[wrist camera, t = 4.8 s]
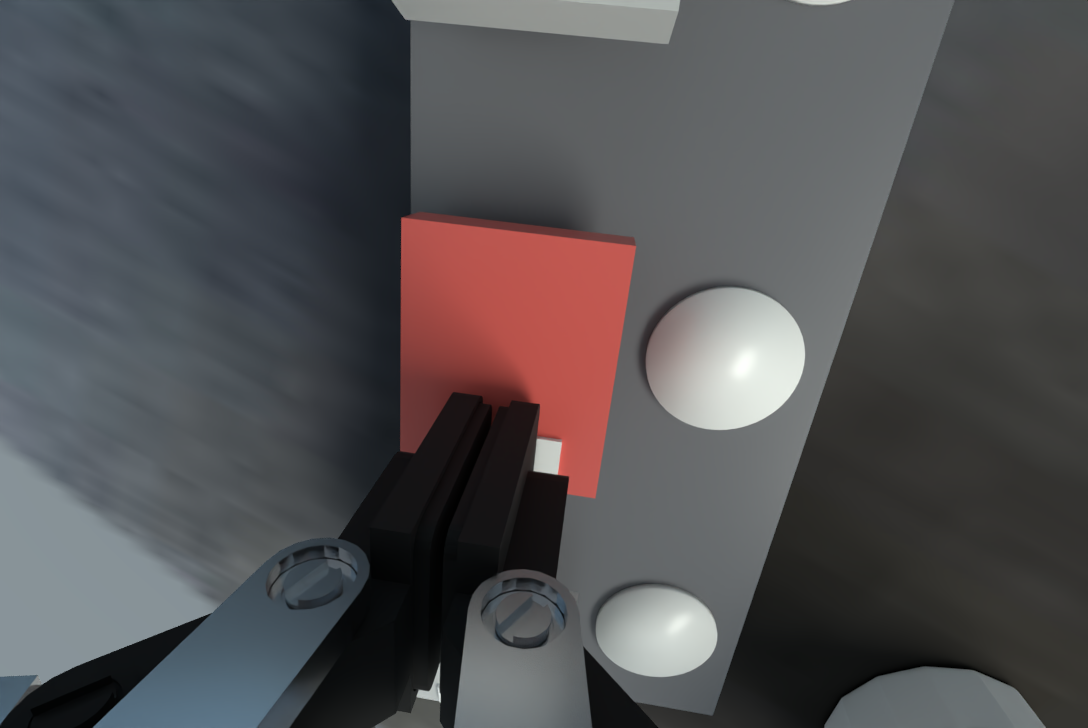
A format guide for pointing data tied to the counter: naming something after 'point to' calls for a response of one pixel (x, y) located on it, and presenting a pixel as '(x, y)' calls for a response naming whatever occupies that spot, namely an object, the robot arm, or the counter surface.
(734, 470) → the power strip
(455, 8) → the outlet rocker
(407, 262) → the outlet rocker
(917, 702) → the white cup
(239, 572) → the counter surface
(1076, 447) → the counter surface
